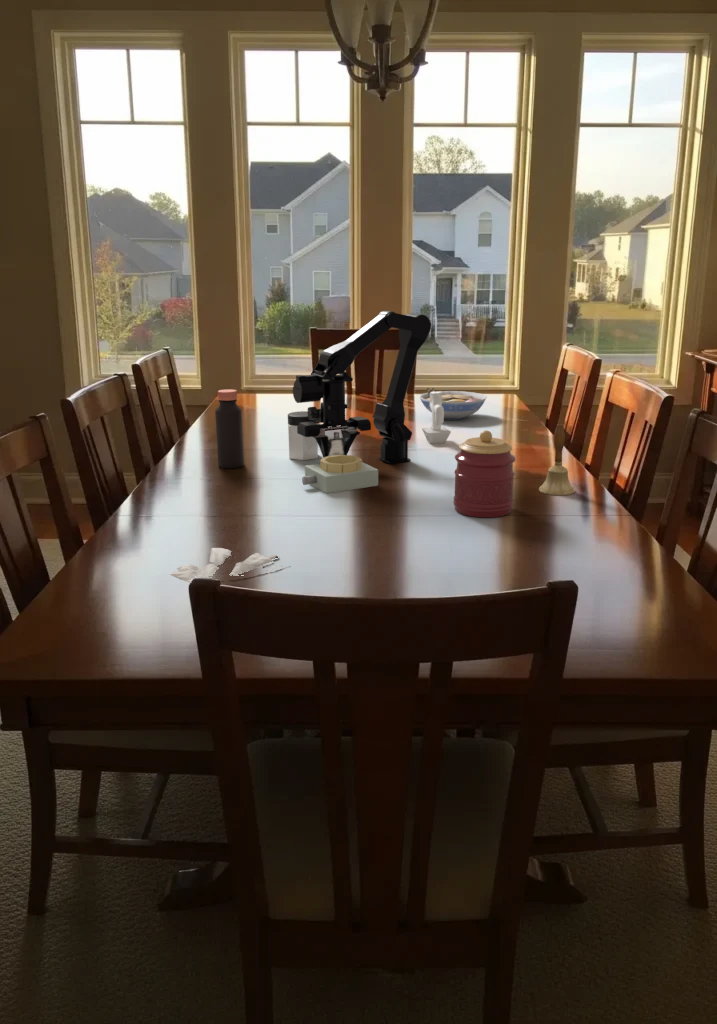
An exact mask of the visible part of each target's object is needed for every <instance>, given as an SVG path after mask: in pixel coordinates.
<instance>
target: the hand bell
mask: <svg viewBox="0 0 717 1024" xmlns="http://www.w3.org/2000/svg"><path fill="white" fill-rule="evenodd" d="M565 442H566V433H565V429H564V424H562V423H557V424H556V427H555V430H554V433H553V446H554V450H555V453H554V465H553V466H551V467H549V468H548V470H547V475H546V478H545V480H544V482H543V484H541V485H540V487H539V488H538V491H539V492H540V493H541V494H542V493H543V494H544V495H548V496H558V497H559V496H561V497H562V496H571V495H572V494H574V493H576V490H575V487H573V486H572V485H571V482H570V479H569V470H568V468H567V467H565V466H563V449H564V446H565Z"/></svg>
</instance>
